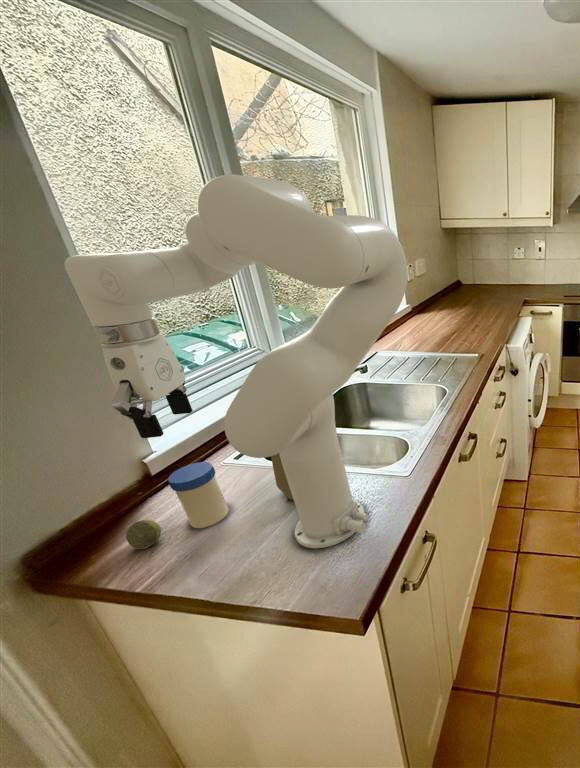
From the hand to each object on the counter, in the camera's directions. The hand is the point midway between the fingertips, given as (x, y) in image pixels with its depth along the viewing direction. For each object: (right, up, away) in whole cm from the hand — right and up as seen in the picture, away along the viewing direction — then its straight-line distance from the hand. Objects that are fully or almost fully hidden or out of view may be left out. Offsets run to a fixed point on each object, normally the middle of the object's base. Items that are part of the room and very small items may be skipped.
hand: (168, 423), depth 71 cm
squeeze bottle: (+16, -17, +15) cm, 28 cm away
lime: (-6, -23, +3) cm, 24 cm away
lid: (+1, -10, +4) cm, 11 cm away
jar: (+1, -20, +9) cm, 22 cm away
